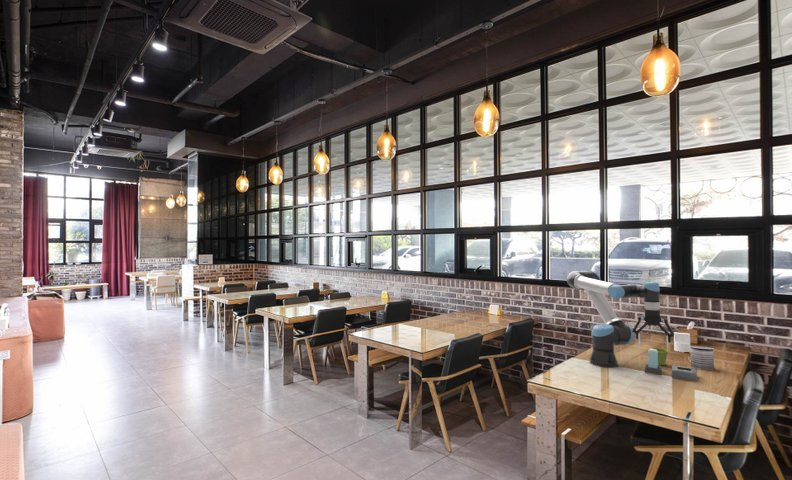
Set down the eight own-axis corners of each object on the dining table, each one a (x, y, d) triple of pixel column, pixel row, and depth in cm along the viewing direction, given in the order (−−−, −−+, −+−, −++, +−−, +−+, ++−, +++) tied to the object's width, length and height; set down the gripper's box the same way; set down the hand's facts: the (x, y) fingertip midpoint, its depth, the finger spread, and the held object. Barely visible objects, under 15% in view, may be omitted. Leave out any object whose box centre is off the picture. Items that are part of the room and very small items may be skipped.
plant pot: (671, 366, 241) (671, 352, 241) (654, 366, 243) (653, 351, 243) (664, 362, 250) (664, 348, 250) (647, 361, 252) (647, 347, 252)
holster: (644, 372, 230) (644, 367, 230) (646, 369, 237) (645, 363, 237) (660, 374, 226) (660, 369, 226) (661, 371, 232) (661, 366, 232)
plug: (648, 372, 231) (647, 349, 231) (649, 370, 234) (648, 348, 235) (657, 373, 228) (657, 350, 228) (658, 371, 232) (657, 349, 232)
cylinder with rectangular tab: (689, 350, 278) (689, 332, 278) (690, 353, 270) (690, 335, 270) (674, 348, 282) (673, 331, 283) (674, 351, 275) (674, 333, 275)
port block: (672, 377, 221) (671, 369, 222) (672, 372, 230) (672, 364, 230) (697, 381, 215) (696, 373, 215) (696, 375, 224) (696, 367, 224)
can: (689, 367, 239) (688, 347, 240) (691, 363, 248) (691, 343, 248) (713, 371, 232) (713, 350, 232) (715, 366, 240) (714, 346, 240)
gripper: (626, 308, 236) (627, 344, 235) (678, 311, 221) (679, 350, 221) (628, 306, 242) (629, 342, 241) (678, 310, 227) (680, 347, 227)
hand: (653, 346), depth 231 cm, fingers open, 13 cm apart
